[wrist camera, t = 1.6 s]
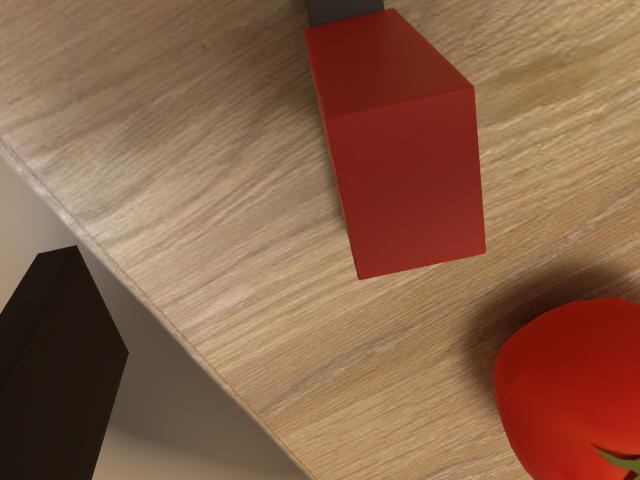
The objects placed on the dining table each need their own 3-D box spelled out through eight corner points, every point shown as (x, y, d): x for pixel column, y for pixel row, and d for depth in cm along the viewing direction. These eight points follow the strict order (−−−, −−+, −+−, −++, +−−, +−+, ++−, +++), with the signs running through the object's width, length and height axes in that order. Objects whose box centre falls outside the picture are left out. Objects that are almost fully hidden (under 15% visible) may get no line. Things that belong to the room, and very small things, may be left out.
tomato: (527, 235, 27) (628, 372, 19) (722, 289, 29) (879, 428, 22) (431, 402, 32) (482, 562, 24) (605, 436, 34) (700, 591, 27)
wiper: (344, 229, 26) (389, 427, 16) (263, -151, 19) (260, -186, 9) (412, 214, 26) (497, 405, 16) (357, -173, 19) (452, -233, 9)
